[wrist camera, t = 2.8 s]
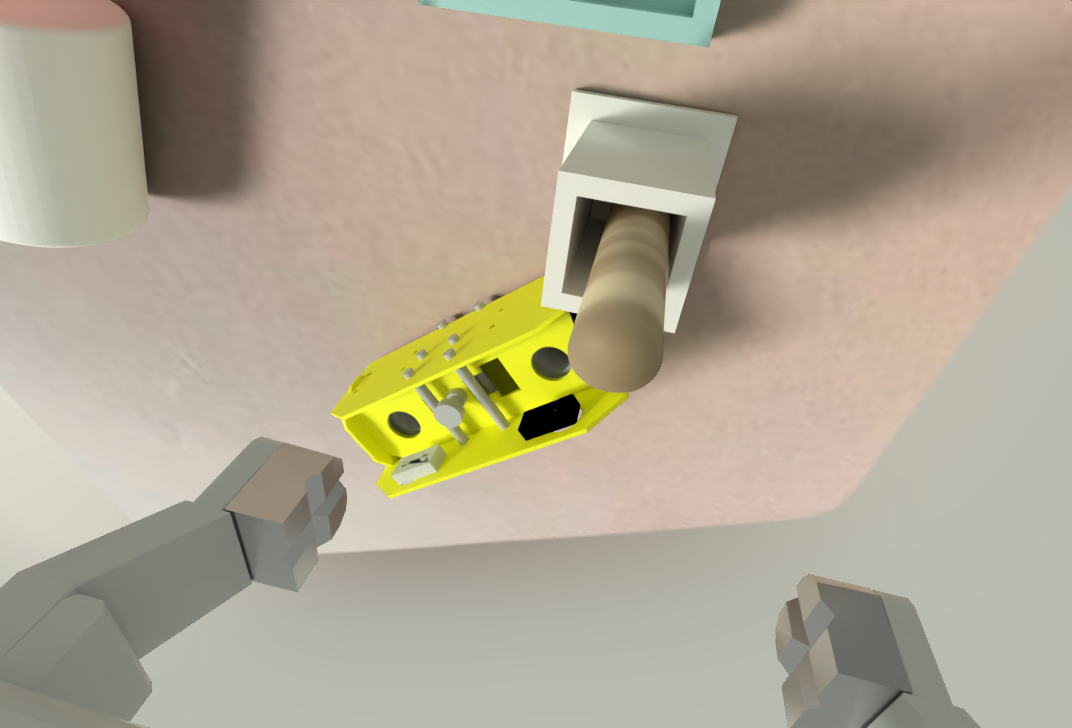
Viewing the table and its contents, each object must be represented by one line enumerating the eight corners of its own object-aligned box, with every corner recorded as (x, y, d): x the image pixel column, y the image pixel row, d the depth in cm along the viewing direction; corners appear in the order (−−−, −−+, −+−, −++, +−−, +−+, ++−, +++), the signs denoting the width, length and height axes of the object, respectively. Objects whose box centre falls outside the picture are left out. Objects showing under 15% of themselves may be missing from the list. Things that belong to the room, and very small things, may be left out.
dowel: (591, 152, 25) (574, 309, 13) (677, 164, 25) (734, 334, 13) (583, 204, 26) (560, 387, 15) (663, 216, 26) (705, 410, 15)
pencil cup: (574, 89, 24) (531, 132, 17) (736, 115, 23) (759, 171, 17) (553, 239, 28) (512, 323, 21) (691, 265, 28) (694, 361, 21)
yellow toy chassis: (426, 416, 38) (371, 512, 31) (372, 352, 35) (300, 440, 29) (641, 328, 30) (630, 427, 24) (590, 240, 28) (562, 322, 21)
